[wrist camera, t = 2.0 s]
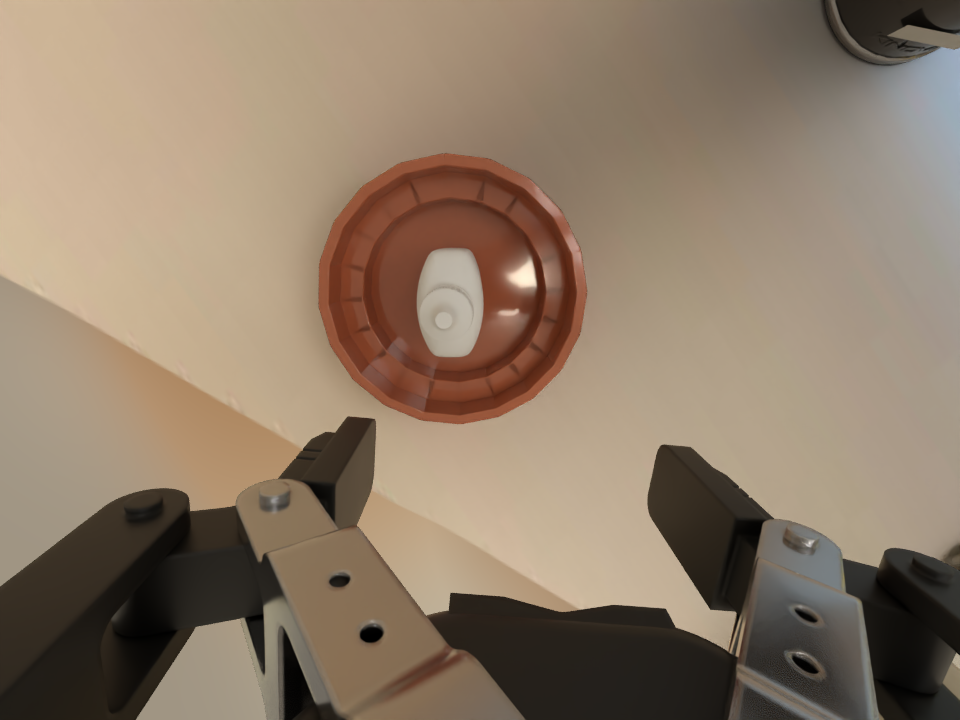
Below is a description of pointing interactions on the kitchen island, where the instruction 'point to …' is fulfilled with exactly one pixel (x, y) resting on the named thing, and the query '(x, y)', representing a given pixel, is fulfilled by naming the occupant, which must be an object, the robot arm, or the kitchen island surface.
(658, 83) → the kitchen island surface
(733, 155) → the kitchen island surface
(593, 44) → the kitchen island surface
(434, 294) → the eye dropper bottle
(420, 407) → the bowl
